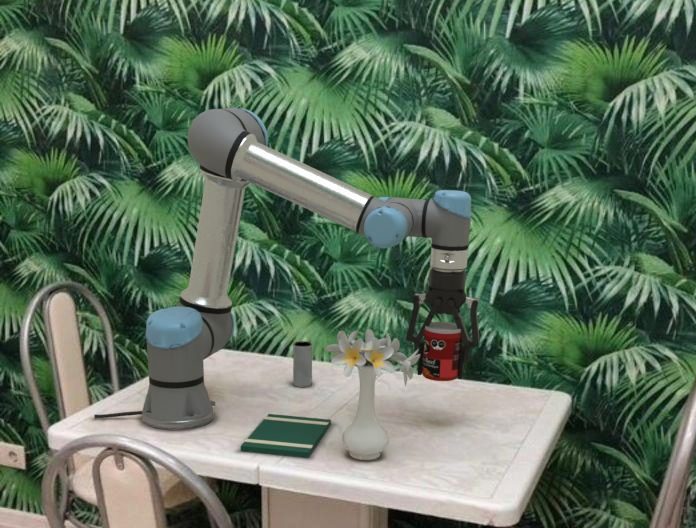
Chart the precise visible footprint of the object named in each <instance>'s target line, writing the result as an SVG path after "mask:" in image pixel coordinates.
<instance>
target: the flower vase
mask: <svg viewBox="0 0 696 528" xmlns="http://www.w3.org/2000/svg"><path fill="white" fill-rule="evenodd" d="M358 333H359V331H358V330H354V331H352V332H351V333H350V335H349V336H348V337H347V334H346V332H345V331H343V330H340V331H338V332H337V335H336V341H337V343H332V344H329V345H327V346H326V347H325V348H324V351H325V352H328V353H333V355H332V357H331V361H330V362H331V364H332V365H333V366H343V365H344V367H343V375H344V376H345V377H346V378H348V377H350V376H351V375H352V373H353V371H354V368H355V365H356V368H357V372H358V377H359V393H358V394H359V396H358V406H357V411H356V415H355V417H354V419H353V421H352V422H351V424H349V425H348V426H347V427H346V429H345V430H344V431H343V433H342V435H341V443H342V444H343V446H344V448H345V449H346V450H348V451H349V455H350V457H351V458H352V459H355V460H360V461H372V460H376V459H378V458H380V456H381V452H383V451H384V450H385V449H386V448H387V446H388V445H389V443H390V439H389V438H390V437H389V434H388V432H387V430H386V429H385V428H384V426H382V424H381V423H380V422H379V419H378V416H377V414H376V413H377V412H376V404H375V401H376V400H375V397H376V396H375V394H376V392H375V391H376V389H375V387H376V380H377V377H380V376H381V375H382V372H383V370H385V371H386V372H387V373H390V374H395V372H396V368H395V366H394V365H393V364H392V363H391V362H393V363H397V364H400V366H401V369H402V373H403V381H404V387H406V386H407V383H408V378H409V380H412V379H413V377H414V368H413V367H412V366H414V365H415V364H417V363H418V360H419V357H420V354H418V355H416V354H417V352H418V350H419V349H418V350H417V351H415V352H414V351H413V352H412V354H411V355H410V356H408V357H407V356H406V355H405V354H404V353H402V352H400V351H399V350H400V347H401V344H400V340H399V339H398V338H397V337H394V339H393V340H392V339H391V337H390V335H389V333H388V332H387V331H386V332H385V337H383V338H380V339H378V338H376V337H375V333H374V331H373V330H372V329H371V328H367V329H366V330H365V333H364V334H365V335H364V340H365V341H363V339H362V338H358V339H356V338H357V335H358ZM415 355H416V356H415Z"/></svg>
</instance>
